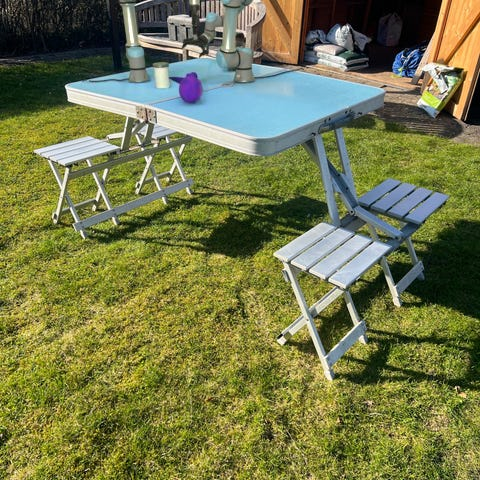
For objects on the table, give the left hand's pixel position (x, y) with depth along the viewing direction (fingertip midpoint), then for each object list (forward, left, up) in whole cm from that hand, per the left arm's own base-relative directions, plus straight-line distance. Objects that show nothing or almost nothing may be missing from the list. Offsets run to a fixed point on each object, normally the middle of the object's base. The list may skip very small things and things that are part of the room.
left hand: (196, 35), depth 349 cm
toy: (-27, -89, -28) cm, 97 cm away
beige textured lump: (+30, +2, -28) cm, 41 cm away
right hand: (-14, -44, -6) cm, 46 cm away
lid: (-36, -41, -13) cm, 56 cm away
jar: (-36, -41, -28) cm, 61 cm away
